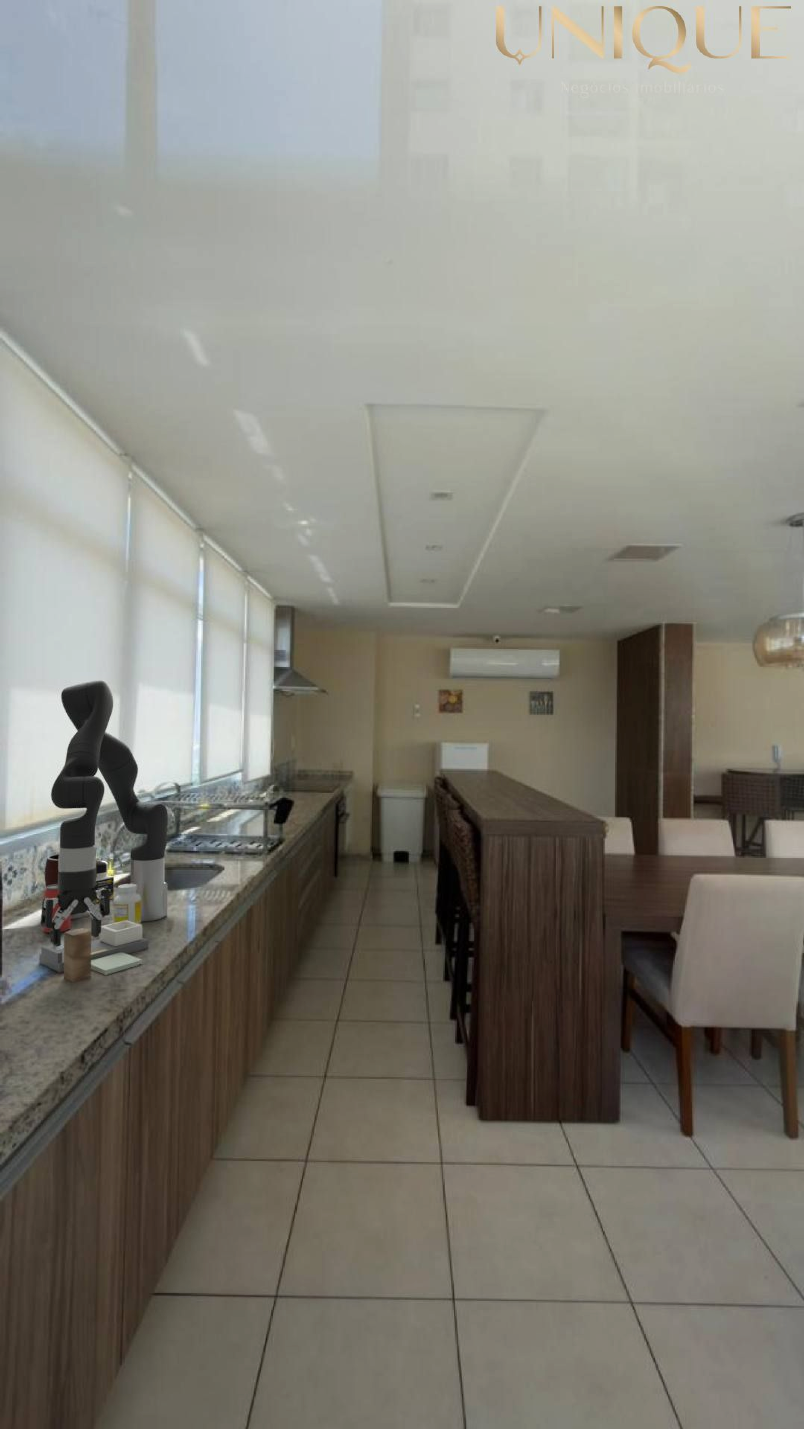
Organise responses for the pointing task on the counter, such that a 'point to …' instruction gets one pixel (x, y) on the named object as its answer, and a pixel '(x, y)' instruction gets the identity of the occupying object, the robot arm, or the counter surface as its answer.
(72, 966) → the peg
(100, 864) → the medicine bottle
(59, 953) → the switch panel
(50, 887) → the beer can
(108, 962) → the tool rest
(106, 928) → the tab
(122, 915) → the supplement bottle
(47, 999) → the counter surface
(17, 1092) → the counter surface
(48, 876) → the mate gourd
